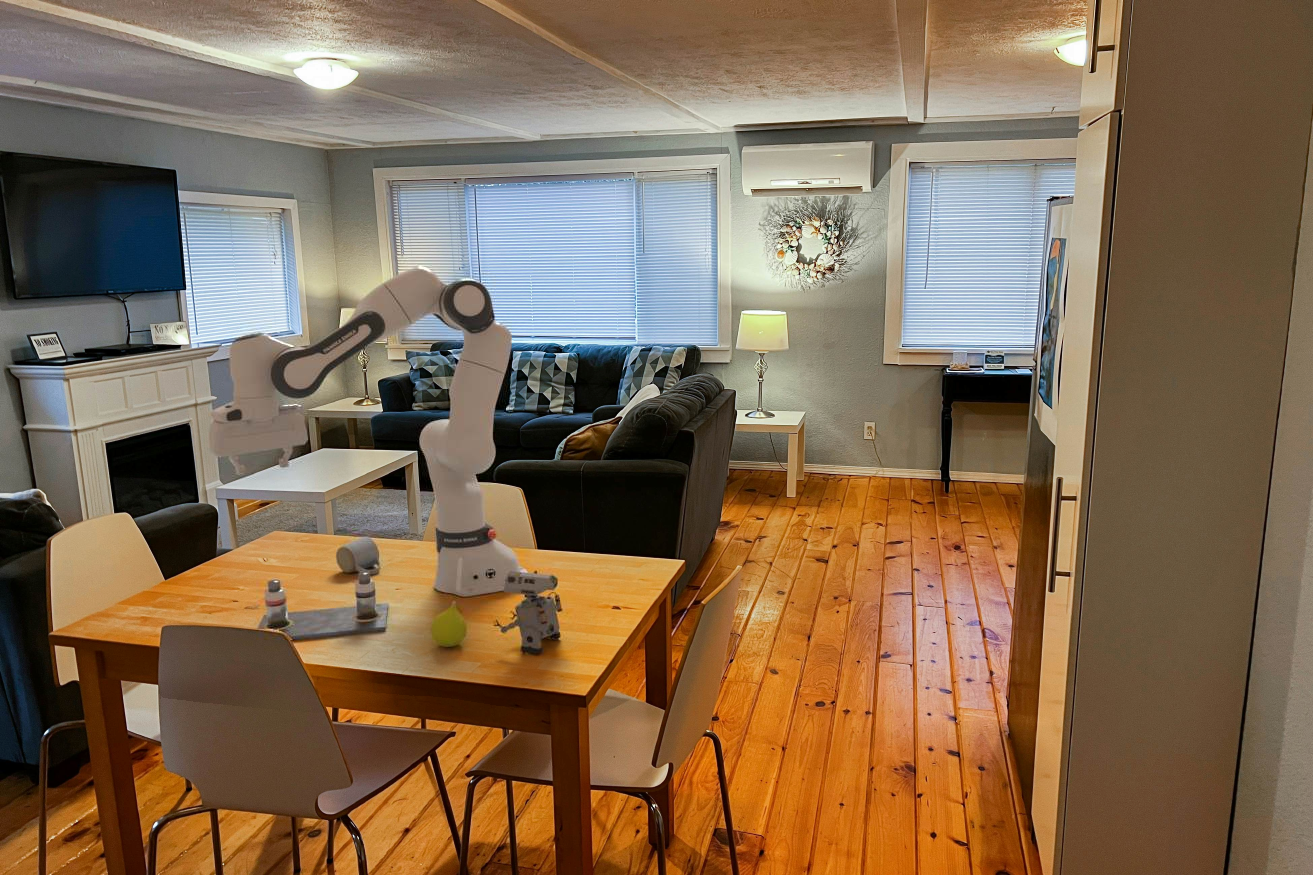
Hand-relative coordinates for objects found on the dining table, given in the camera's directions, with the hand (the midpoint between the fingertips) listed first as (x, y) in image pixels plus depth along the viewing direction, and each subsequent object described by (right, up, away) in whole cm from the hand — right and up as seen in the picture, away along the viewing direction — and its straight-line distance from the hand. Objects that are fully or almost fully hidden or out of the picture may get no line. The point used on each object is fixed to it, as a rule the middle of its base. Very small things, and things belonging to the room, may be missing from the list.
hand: (262, 470), depth 204 cm
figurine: (+62, -35, -18) cm, 73 cm away
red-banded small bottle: (+7, -32, -9) cm, 34 cm away
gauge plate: (+16, -33, -7) cm, 37 cm away
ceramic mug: (+13, -26, +28) cm, 41 cm away
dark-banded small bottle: (+25, -31, -5) cm, 40 cm away
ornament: (+45, -35, -18) cm, 60 cm away
